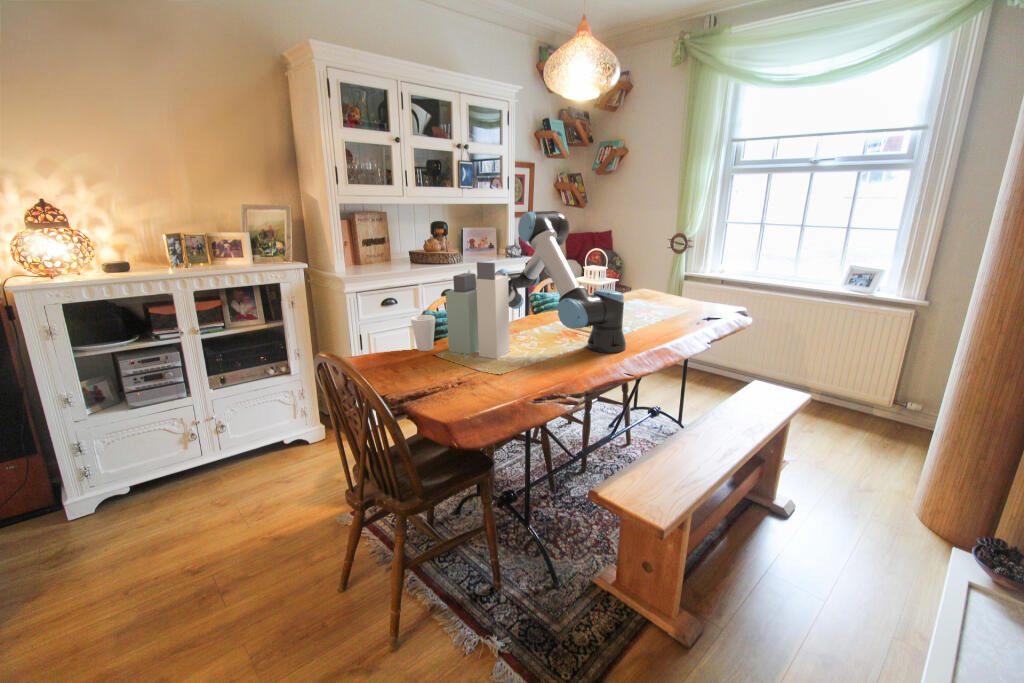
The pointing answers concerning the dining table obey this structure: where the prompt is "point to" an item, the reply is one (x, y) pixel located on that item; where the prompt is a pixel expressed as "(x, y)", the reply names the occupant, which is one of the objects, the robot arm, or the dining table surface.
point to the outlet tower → (492, 311)
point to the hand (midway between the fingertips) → (482, 273)
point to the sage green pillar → (462, 321)
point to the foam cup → (423, 331)
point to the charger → (464, 282)
